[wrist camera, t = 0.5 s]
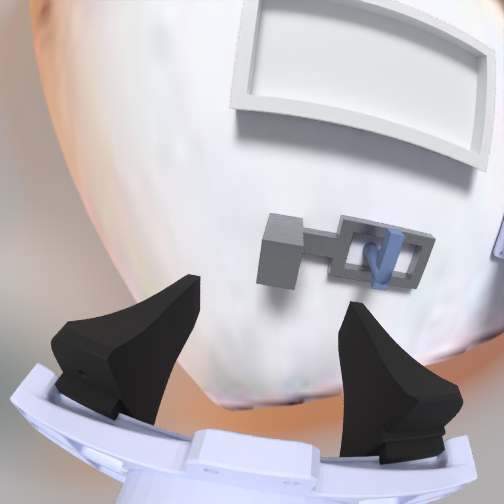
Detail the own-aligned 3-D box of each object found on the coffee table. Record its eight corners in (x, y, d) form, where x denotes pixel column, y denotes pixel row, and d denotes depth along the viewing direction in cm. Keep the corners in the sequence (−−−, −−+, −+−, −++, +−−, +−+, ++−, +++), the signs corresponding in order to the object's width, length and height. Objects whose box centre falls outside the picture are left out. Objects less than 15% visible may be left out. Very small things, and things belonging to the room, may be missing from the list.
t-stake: (387, 215, 19) (406, 236, 15) (373, 262, 21) (387, 290, 17) (373, 212, 19) (389, 232, 15) (359, 259, 21) (371, 288, 17)
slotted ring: (430, 234, 19) (458, 263, 14) (412, 282, 21) (433, 318, 16) (271, 202, 20) (264, 226, 16) (263, 258, 22) (254, 293, 18)
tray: (481, 54, 11) (494, 50, 9) (472, 167, 16) (485, 172, 14) (252, -13, 13) (247, -24, 11) (235, 109, 17) (229, 108, 16)
